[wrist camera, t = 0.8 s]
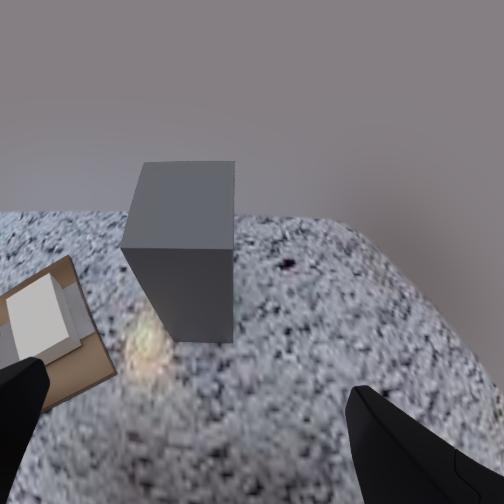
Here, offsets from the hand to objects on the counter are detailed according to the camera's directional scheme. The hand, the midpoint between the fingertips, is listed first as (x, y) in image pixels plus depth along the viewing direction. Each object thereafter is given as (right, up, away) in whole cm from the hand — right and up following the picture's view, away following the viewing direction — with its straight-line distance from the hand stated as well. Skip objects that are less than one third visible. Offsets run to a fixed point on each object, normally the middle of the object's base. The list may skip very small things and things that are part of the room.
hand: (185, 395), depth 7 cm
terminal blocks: (-20, -5, +11) cm, 23 cm away
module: (-2, -1, +17) cm, 17 cm away
